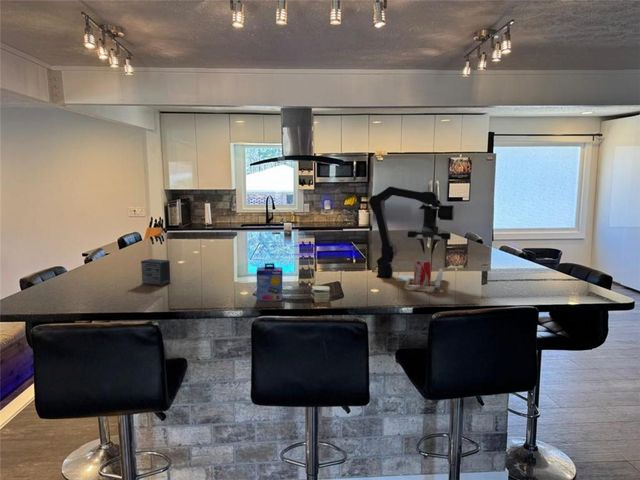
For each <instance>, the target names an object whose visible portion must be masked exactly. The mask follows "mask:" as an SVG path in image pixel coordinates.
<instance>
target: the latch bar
mask: <svg viewBox="0 0 640 480" xmlns="http://www.w3.org/2000/svg"><path fill="white" fill-rule="evenodd" d="M443 271H444V269H443V268H439V269H438V272H437V276H436V278H435V279H434V280H435V285H434V289H440V290H441V284H442V278H443V275H444V274H443V273H444V272H443Z"/></svg>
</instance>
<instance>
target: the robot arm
mask: <svg viewBox="0 0 640 480" xmlns="http://www.w3.org/2000/svg"><path fill="white" fill-rule="evenodd" d="M392 196H395V197H401V198H405V199H411V200H416V201H417V202H420V203H422V205H420V207H419V208H418V209H419V210H423V217H422V218H423V220H422V221H423V223H422V228H421V231H418V230H417V229H409V231H407V238H416V240H417V241H419V243H420V245H421V248H422V252H423V254H425V253H426V243H425V242H426V241H425V238H429V239H433V240H432V241H433V242H432V246H431V253H430V254H432V255H433V253H434V251H435V247H436V246H437V243H438V242H441V240H447V241H449V240H451V235H452V233H451V231H441V232H439V226H437V218H438V219H439V220H440V221H449V222H450V221H451V222H453V221H454V219H455V209H454V208H455V207H454V206H455V205H454V204H453V205H452V204H450V205H447V204H445V205H444V204H442V202H441V201H440V199H439V195H438V193H437V192H436V191H433V190H432V191H425V190H423V191H418V190H412V189H406V188H400V187H395V186H388V187H387V188H385V189H384V190H382V191H381V192H380V193H378V194H375V195H374V194H373V195H371V196H370V198H369V200H368V204H369V206H370V209H371V210H372V212H373V214H374V215H375V216H374V217H375V220H376V225H377V228H378V232H379V236H380V238H379V239H380V241H381V249H380V251H381V252H380V253H381V255H380V257H378V259H377V260H376V263H377V275H376V277H377V278H384V279H385V278H386V279H391V277H392V276H393V274H394V267H393V261H394V260H395V259H396V258H397V256H398V253H399V252H398V250H397V244H394V243H392V241H391V235H390V232H389V226H388V223H387V218H386V214H385V210H386V206H385V205H386V201H388V200H389V199H390V198H391V197H392Z"/></svg>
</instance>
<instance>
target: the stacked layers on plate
mask: <svg viewBox="0 0 640 480" xmlns="http://www.w3.org/2000/svg"><path fill="white" fill-rule="evenodd" d="M311 288H312V289H311V292H312V294H311V297H312V298H313V299H314V303H317V304H319V303H329V302H330V301H329V300H330V292H331V291H330V289H331V288H330V286H326V285H312V286H311Z"/></svg>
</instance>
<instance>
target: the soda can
mask: <svg viewBox="0 0 640 480" xmlns="http://www.w3.org/2000/svg"><path fill="white" fill-rule="evenodd" d="M413 273H414V275H413V276H414V283H413V285H418V286H429V287H431V285H430V281H431V280H432V277H431V276H432V263H431V260H430V259H427V258H426V259H425V258H418V259H416V260H415V263H414V272H413Z"/></svg>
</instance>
